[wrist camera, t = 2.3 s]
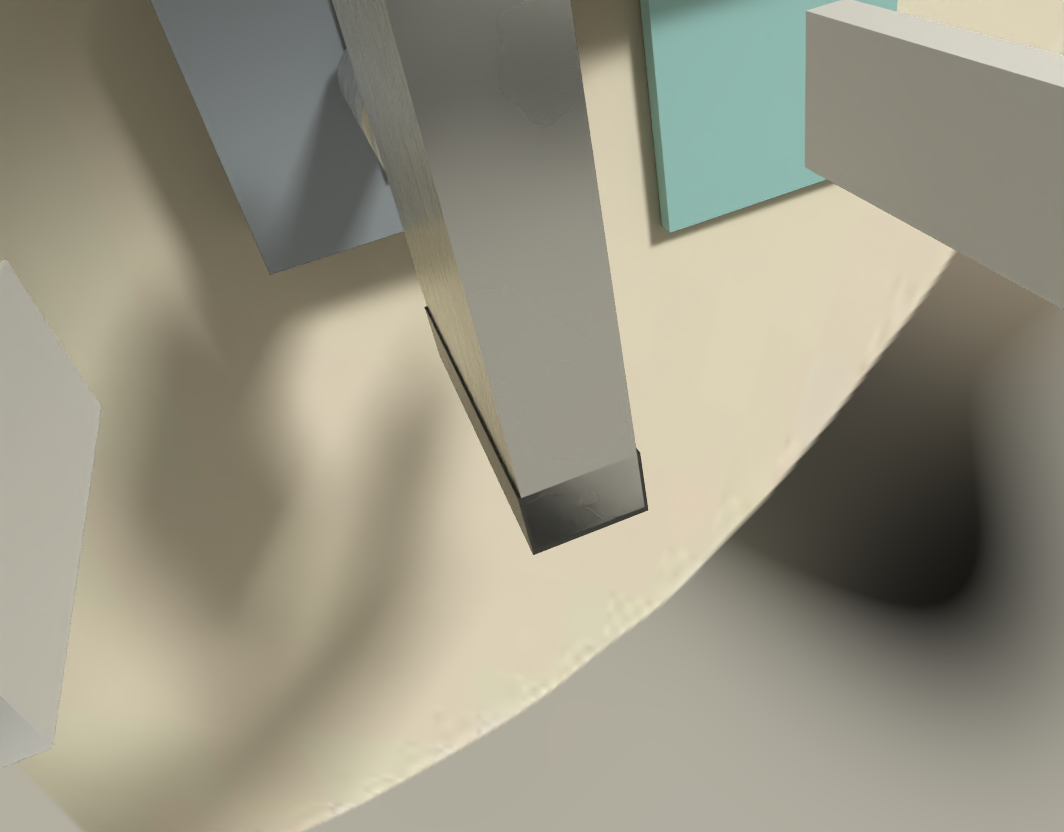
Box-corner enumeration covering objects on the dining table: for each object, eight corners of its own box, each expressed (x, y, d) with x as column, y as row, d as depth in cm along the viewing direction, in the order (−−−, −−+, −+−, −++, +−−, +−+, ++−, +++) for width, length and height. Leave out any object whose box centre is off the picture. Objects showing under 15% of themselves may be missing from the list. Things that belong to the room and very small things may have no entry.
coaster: (635, -40, 23) (645, -37, 23) (892, -114, 24) (905, -113, 24) (662, 225, 28) (669, 232, 28) (873, 154, 29) (884, 159, 29)
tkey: (270, -117, 16) (369, -30, 8) (363, -141, 17) (563, -85, 8) (390, 250, 22) (533, 554, 13) (460, 227, 22) (647, 510, 13)
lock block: (123, -94, 19) (115, -80, 16) (462, -181, 20) (500, -179, 18) (261, 229, 24) (270, 276, 21) (526, 145, 25) (563, 181, 23)
